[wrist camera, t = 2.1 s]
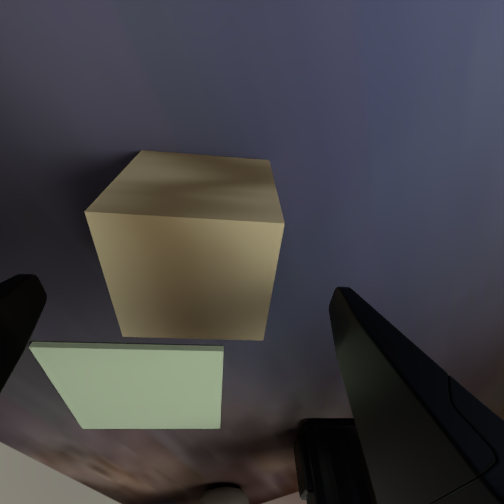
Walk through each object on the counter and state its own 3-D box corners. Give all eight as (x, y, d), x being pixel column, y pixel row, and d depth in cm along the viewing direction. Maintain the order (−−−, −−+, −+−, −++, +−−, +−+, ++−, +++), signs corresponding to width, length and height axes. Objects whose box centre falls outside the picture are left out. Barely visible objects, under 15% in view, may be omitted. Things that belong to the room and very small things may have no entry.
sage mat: (223, 346, 18) (223, 351, 18) (220, 423, 26) (220, 428, 25) (32, 341, 18) (28, 347, 17) (84, 423, 25) (82, 428, 24)
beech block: (269, 159, 11) (284, 223, 7) (256, 256, 14) (262, 340, 10) (142, 149, 11) (84, 211, 7) (156, 252, 14) (122, 336, 10)
